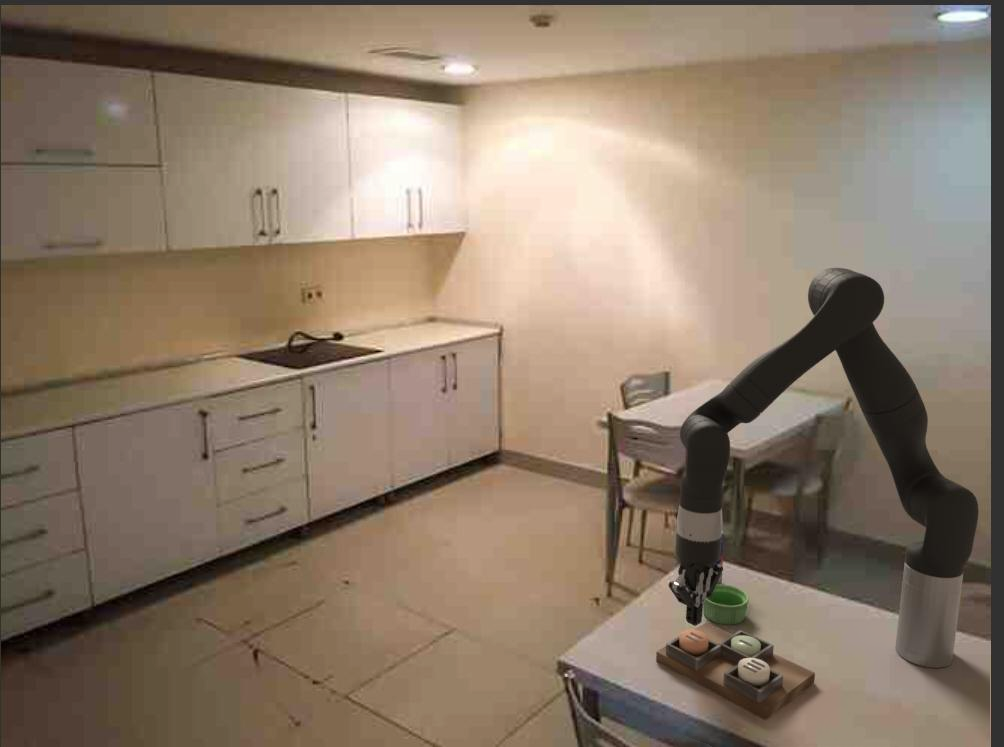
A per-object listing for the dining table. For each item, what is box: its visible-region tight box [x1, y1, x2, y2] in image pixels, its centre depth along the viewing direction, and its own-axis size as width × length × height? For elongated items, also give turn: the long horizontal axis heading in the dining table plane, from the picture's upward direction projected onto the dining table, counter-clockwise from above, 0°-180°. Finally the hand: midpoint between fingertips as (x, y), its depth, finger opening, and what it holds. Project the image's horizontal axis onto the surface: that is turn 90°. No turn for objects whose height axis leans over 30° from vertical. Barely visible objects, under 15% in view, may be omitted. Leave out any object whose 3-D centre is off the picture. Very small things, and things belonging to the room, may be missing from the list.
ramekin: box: [702, 583, 750, 626], centre depth 160 cm, size 9×9×4 cm
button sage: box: [731, 635, 761, 657], centre depth 143 cm, size 5×5×2 cm
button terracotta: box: [679, 629, 709, 655], centre depth 143 cm, size 5×5×2 cm
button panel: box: [655, 622, 816, 721], centre depth 141 cm, size 15×22×4 cm
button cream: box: [738, 658, 770, 686], centre depth 134 cm, size 5×5×2 cm
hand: (693, 622), depth 142 cm, fingers closed
